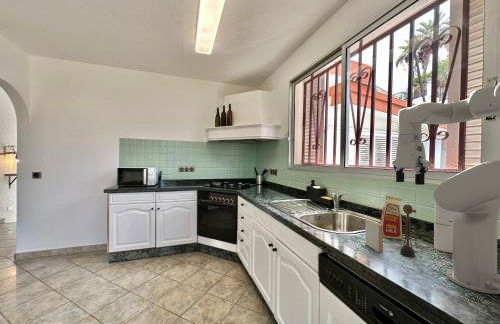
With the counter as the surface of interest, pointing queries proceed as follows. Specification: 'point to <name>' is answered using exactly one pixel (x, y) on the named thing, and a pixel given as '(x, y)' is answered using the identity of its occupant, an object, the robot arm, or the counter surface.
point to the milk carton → (392, 218)
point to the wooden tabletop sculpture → (407, 233)
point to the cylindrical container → (443, 229)
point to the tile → (374, 235)
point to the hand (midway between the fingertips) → (409, 183)
